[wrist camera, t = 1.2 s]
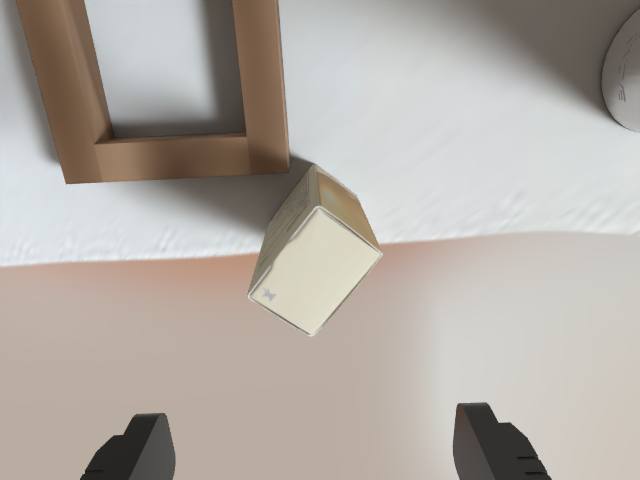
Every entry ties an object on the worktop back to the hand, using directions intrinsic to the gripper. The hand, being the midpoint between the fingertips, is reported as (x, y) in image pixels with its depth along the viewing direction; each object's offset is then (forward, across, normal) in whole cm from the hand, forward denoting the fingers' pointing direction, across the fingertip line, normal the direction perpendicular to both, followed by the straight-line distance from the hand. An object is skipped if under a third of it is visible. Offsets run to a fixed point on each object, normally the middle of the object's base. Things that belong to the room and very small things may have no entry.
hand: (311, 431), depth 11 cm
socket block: (+22, +9, -11) cm, 26 cm away
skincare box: (+22, 0, 0) cm, 22 cm away
